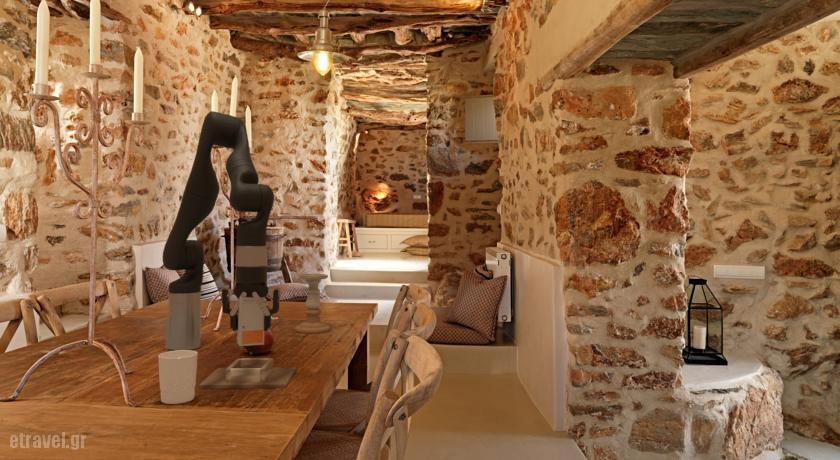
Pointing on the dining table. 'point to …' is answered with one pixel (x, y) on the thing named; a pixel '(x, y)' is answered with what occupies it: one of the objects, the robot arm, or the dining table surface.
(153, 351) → the dining table surface
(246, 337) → the skincare box
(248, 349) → the fruit
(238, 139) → the robot arm
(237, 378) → the socket board
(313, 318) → the candle holder
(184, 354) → the white cup
